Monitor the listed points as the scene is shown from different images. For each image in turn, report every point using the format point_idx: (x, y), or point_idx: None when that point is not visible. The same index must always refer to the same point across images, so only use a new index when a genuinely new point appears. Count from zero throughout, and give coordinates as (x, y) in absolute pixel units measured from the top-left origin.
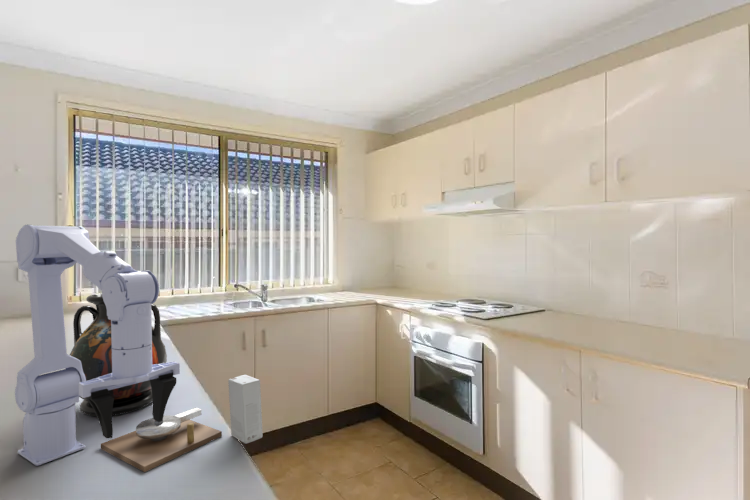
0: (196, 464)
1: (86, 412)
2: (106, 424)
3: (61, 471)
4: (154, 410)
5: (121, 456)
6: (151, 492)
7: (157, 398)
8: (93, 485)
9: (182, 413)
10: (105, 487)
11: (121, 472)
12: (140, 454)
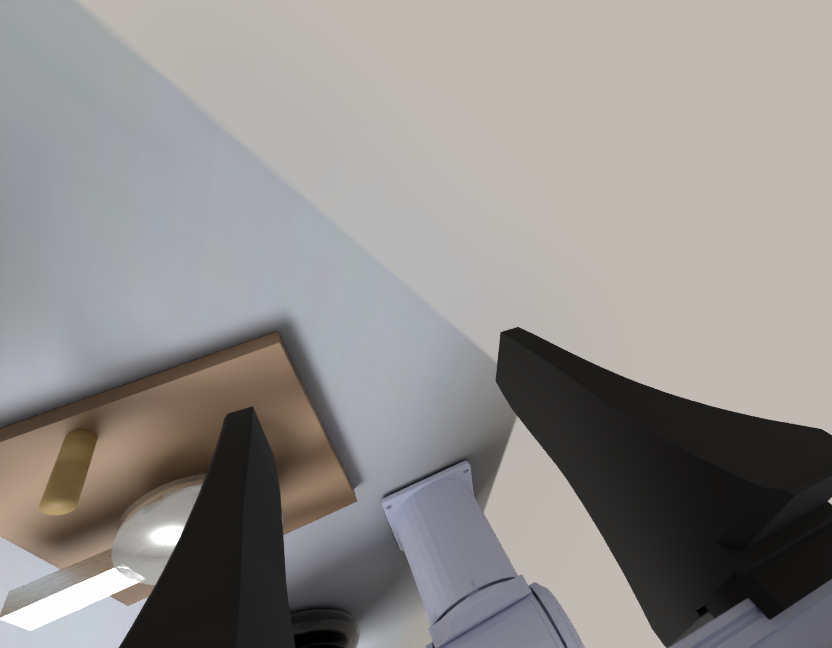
0: (65, 282)
1: (351, 619)
2: (587, 363)
3: (440, 426)
4: (274, 497)
5: (324, 433)
6: (278, 183)
7: (266, 580)
8: (407, 334)
9: (99, 594)
10: (388, 307)
11: (336, 363)
12: (277, 419)
